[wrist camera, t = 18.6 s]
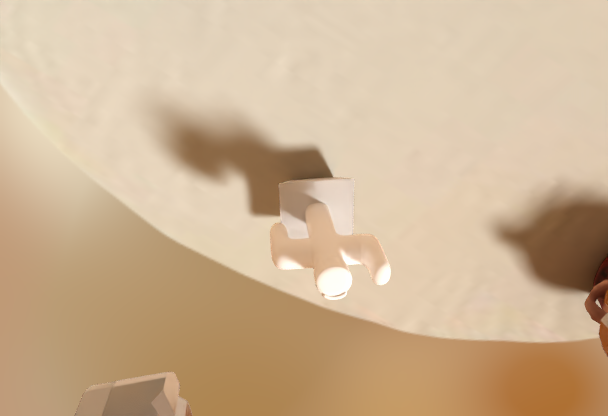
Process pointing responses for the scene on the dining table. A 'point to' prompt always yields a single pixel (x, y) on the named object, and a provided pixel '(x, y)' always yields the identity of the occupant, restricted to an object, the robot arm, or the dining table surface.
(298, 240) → the figurine
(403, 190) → the dining table surface
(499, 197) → the dining table surface
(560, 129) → the dining table surface
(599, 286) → the decorative planter
